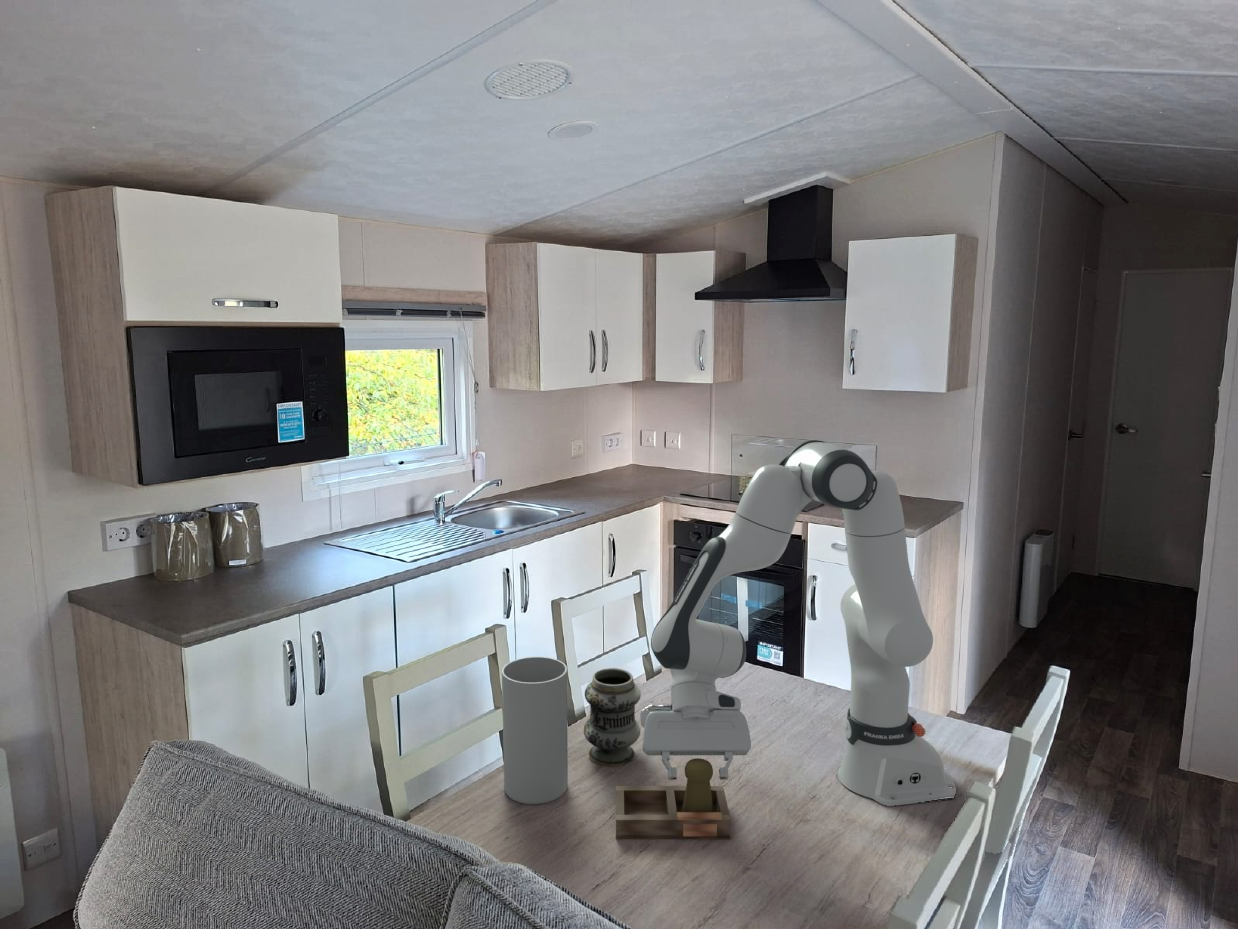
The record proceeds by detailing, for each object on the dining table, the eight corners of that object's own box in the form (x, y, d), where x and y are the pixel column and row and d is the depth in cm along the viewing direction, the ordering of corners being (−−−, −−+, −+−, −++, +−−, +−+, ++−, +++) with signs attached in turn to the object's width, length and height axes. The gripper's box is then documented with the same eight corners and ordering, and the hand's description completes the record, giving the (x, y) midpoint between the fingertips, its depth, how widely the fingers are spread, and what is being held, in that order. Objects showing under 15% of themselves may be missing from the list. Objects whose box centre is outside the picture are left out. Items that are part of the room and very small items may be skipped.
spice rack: (722, 804, 163) (723, 783, 162) (730, 840, 152) (731, 818, 151) (615, 804, 163) (615, 783, 162) (615, 840, 152) (616, 818, 151)
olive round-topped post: (712, 828, 154) (714, 772, 152) (679, 824, 155) (680, 769, 153) (715, 809, 160) (716, 755, 158) (683, 806, 161) (684, 752, 159)
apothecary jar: (617, 776, 173) (617, 693, 170) (572, 757, 180) (571, 677, 177) (651, 752, 182) (652, 673, 179) (607, 735, 190) (607, 659, 186)
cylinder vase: (493, 800, 164) (490, 678, 160) (519, 767, 176) (517, 653, 172) (554, 811, 161) (553, 687, 156) (576, 777, 172) (576, 661, 168)
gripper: (640, 699, 161) (642, 774, 153) (748, 699, 161) (755, 774, 153) (639, 710, 166) (641, 783, 158) (744, 710, 166) (750, 783, 158)
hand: (698, 779), depth 156 cm, fingers open, 8 cm apart
